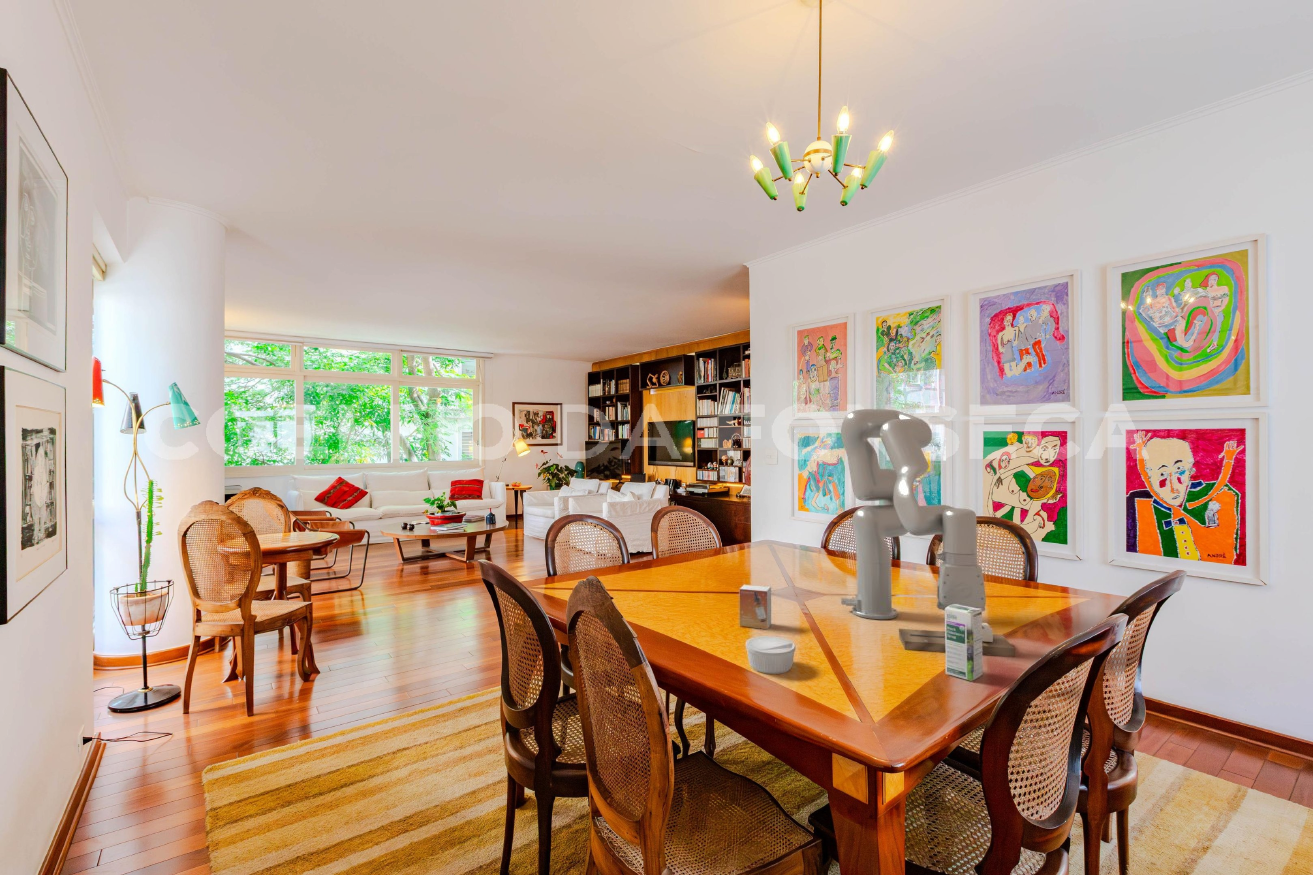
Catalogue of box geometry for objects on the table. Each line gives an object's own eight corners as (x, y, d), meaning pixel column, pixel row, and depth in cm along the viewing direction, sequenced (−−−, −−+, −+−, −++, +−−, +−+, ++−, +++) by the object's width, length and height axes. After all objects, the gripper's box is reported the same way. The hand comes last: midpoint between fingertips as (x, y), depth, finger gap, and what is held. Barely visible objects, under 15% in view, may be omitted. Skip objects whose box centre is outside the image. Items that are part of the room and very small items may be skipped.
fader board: (904, 649, 146) (904, 640, 146) (898, 636, 156) (898, 628, 156) (1015, 656, 140) (1014, 647, 140) (1001, 642, 150) (1001, 634, 150)
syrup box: (944, 674, 130) (943, 607, 130) (956, 667, 134) (955, 602, 134) (972, 682, 126) (970, 612, 126) (983, 674, 130) (982, 607, 130)
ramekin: (785, 680, 128) (785, 655, 128) (737, 670, 134) (737, 646, 134) (802, 663, 138) (802, 640, 138) (757, 654, 144) (756, 632, 144)
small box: (738, 626, 166) (738, 588, 166) (743, 620, 171) (743, 583, 171) (767, 629, 163) (767, 590, 163) (771, 623, 168) (771, 586, 168)
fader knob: (974, 640, 144) (974, 627, 144) (969, 634, 149) (968, 621, 149) (992, 641, 143) (992, 628, 143) (986, 635, 148) (986, 622, 148)
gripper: (930, 561, 146) (931, 636, 145) (998, 563, 142) (999, 640, 142) (924, 555, 153) (925, 627, 153) (988, 557, 149) (990, 631, 149)
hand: (961, 633), depth 147 cm, fingers closed
